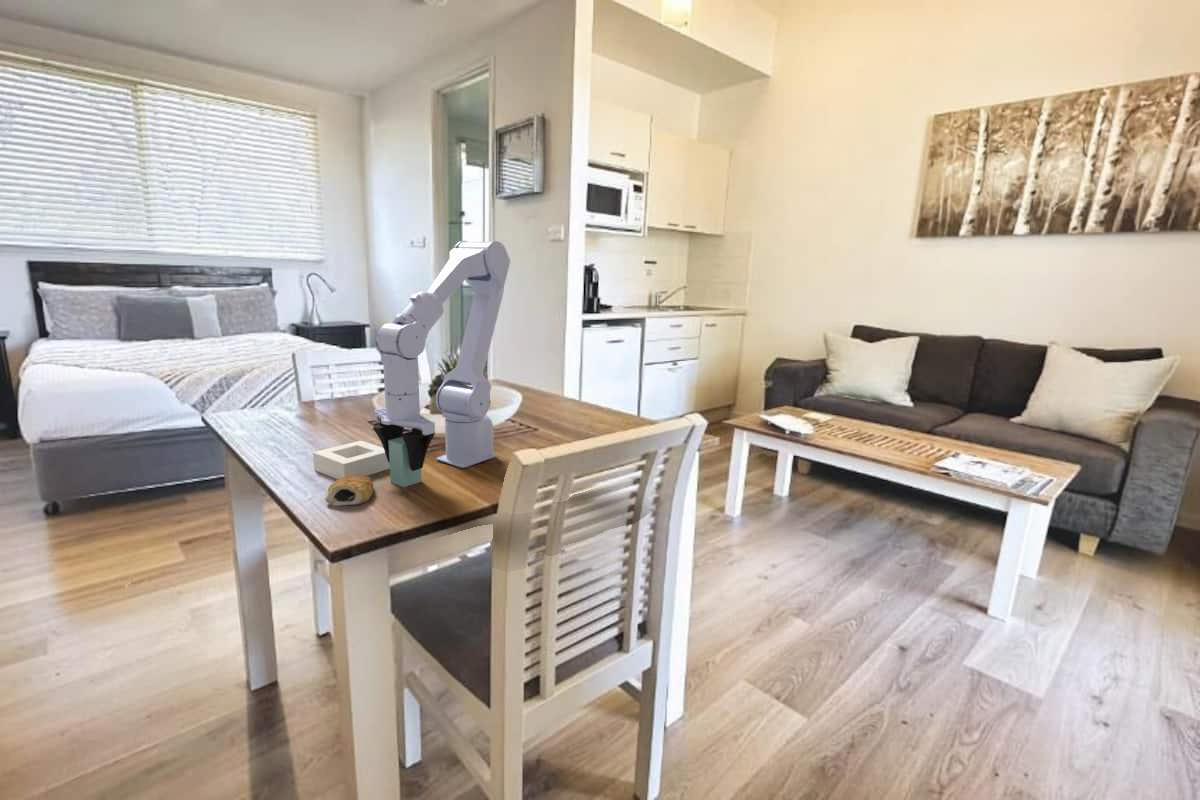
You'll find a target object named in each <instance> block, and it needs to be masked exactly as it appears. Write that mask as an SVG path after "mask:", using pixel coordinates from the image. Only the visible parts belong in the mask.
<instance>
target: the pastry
mask: <svg viewBox="0 0 1200 800" xmlns="http://www.w3.org/2000/svg"><path fill="white" fill-rule="evenodd" d="M373 492H374V483H373V480H372V479H371V478H370V477H369V476H360V475H353V476H348V477H345V478H342V479H336V480H335V481H334V482H333V483H331V485H330V486H329V488H328V491H327V496H326V497H325V502H326V503H327V504H328V505H329V506H331V505H333V507H340V506H339V505H346V506H358V505H357V504H359V505H361V503H363V504H365V503H366V502H368V501H370V499H371V498H372V496H373ZM364 502H365V503H364Z"/></svg>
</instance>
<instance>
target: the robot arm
mask: <svg viewBox="0 0 1200 800" xmlns="http://www.w3.org/2000/svg"><path fill="white" fill-rule="evenodd" d="M510 265H511V259H510V256H509V254H508V251H507V249H506V247H505V244H503V242H500V241H498V240H497V241H496V240H493V241H468V240H460V241H458V242H457V243H456V244H455V245H454V247H453V248H452V249H451V250H450V251H449V253H448V260H447V262H446V263H445V265H444V266H443V268H442V269H441V271H440V272H439V274H438V275H437V276H436V278H435V279H434V281H433V283H432V284H431V285H430V286H429V288H428V289H427V291H419V292H417V293H413V294H411V296H410V297H409V302H408V303H407V304H406V305H405V306H404V308H403V309H402V310H401V311H400V313H398V314H396V316H395V317H394V320H393V321H392V322H388V323H385V324H383V325H382V326H381V327H380V329H379V330H378V331H377V334H376V339H374V340H373V344H374V346H375V347H374V348H376V351H377V352H378V354H379V355H380V362H381V363H382V366H383V367H382V368H383V382H384V383H383V385H384V399H385V400H384V402H385V403H384V404H385V408H378V409H374V410H373V421H376V422H379V424H376V425H373V428H372V429H373V431H374V432H375V434H376V436H377V437H378V438H379V440H380V442H381V445H382V448H384V451H385V454H386V457H387V460H388V462H389V463H390V461H389V441H388V440H392V439H396V438H400V437H402V438H403V440H404V442H405V444H406V447H407V451H408V456H409V465H410V468H411V470H412V471H415V470H418V469H421V470H422V469H423V467H424V464H425V458H426V455H427V451H428V448H429V446H430V443H431V441H432V440H433V438H434V437H435V435H436V434H435V433H436V423H435V422H434V421H432V420H430V419H428V418H426V417H425V416H423V415H422V414H421V410H420V409H421V408H420V407H421V406H420V383H419V381H420V380H419V379H420V378H419V355H421V354H422V353H423V352H424V351H425V347H426V341H427V338H428V335H429V332H430V331H431V330H432V329H433V327H434V326H435V324H437V322H438V321H439V320H440V318H441V317H442V316H443V314H444V310H445V309H444V303H445V302H446V301H447V299H448V298H450V296H452V294H454V292H455V291H456V290H457V289H458V288H459V287H460V286H461V285H462V284H463V283H464V281H465V282H466V283H467V285H468V286H469V287H471V288H472V290H473V292H474V295H473V296H474V297H473V300H472V304H471V308H470V312H469V316H468V320H467V323H466V327H465V331H464V335H463V339H462V343H461V348H460V350H459V351H460V352H459V355H458V359H457V362H456V366H455V367H454V368H453V369H452V370H450V371H449V372H447V373H446V374H445V375H444V376H443V379H442V380H443V381H442V383H441V385H440V386H439V387H438V389H437V390H436V395H435V405H436V407H437V409H438V410H439V411H440V412H441V414H442V415H441V417H442V418H444V430H445V432H444V433H445V435H444V436H445V437H444V438H445V454H444V455H441V456H440V455H439V456H438V457H436V460H437V461H439V462H442V463H445V464H449V465H452V466H455V467H457V468H461V469H465V468H469V467H471V466H473V465H476V464H479V463H483V462H485V461H488V460H490V459H494V458H496V457H497V454H496V453H495V452H494V424H493V421H492V420H491V417H489V416H488V415H487V414H488V411H489V410H490V406H491V389H492V385H491V383H490V382H489V380H488V379H487V378H486V375H484V371H485V368H486V363H487V360H488V356H489V351H490V347H491V344H492V340H493V335H494V332H495V328H496V323H497V319H498V317H499V311H500V307H501V304H502V301H503V295H504V291H505V283H506V280H507V276H508V272H509V267H510ZM405 429H409V430H411V431H409V432H405V433H404V430H405Z"/></svg>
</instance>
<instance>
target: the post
mask: <svg viewBox="0 0 1200 800" xmlns="http://www.w3.org/2000/svg"><path fill="white" fill-rule="evenodd" d="M388 441H389V461H390V469H389V476H390V477H389V479H390V484H391V483H392V484H394V485H396V486H400V487H402V488H407V487H409V485H410V486H412V484H413V485H415V484H419V483H421V482H422V468H421V469H418V470H415V471H412V470H411V468H410V465H409V456H408V451H407V447H406V444H405V442H404V440H403V438H402V437H400V438H396V439H392V440H388Z"/></svg>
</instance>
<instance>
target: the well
mask: <svg viewBox="0 0 1200 800" xmlns="http://www.w3.org/2000/svg"><path fill="white" fill-rule="evenodd" d="M312 457H313V458H312V459H313V470H314V471H316V472H317V473H318V472H319V473H321V474H323V475H326V476H328V477H331V478H333V479H336V480H338V479H342V478H345V477H348V476H353V475H360V476H366V477H368V476H370V475H374V474H377V473H381V472H384V471H388V470H390V463H389V462H388V460H387V457H386V454H385V451H384V448H383V446H379V445H376V444H373V443H369V442H367V441H363V440H357V441H354V442H350V443H345V444H341V445H338V446H337V445H336V446H333V447H329V448H325V449H321V450H319V451H313V452H312Z"/></svg>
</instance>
